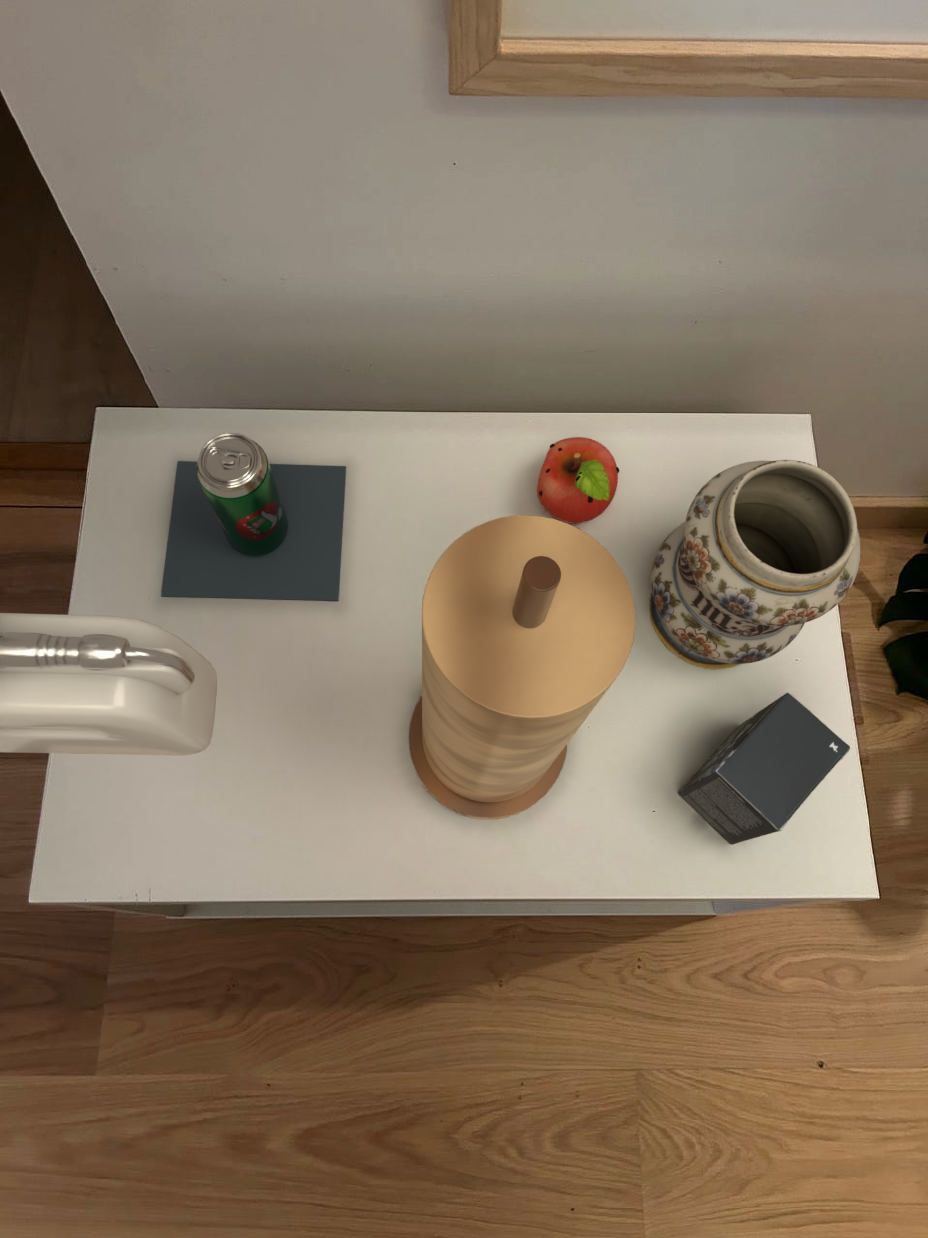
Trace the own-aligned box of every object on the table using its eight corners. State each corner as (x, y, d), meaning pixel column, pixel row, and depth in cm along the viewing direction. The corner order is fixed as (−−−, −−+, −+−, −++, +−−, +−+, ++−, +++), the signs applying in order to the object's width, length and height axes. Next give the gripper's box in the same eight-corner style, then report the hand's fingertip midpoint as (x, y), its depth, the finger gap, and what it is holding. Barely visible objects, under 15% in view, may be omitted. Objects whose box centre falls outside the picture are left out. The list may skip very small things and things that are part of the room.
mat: (161, 596, 75) (161, 595, 75) (178, 461, 79) (177, 460, 78) (338, 601, 75) (338, 600, 75) (346, 467, 79) (345, 465, 79)
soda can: (230, 500, 77) (197, 425, 66) (291, 503, 78) (269, 429, 66) (222, 557, 76) (187, 490, 64) (285, 560, 76) (262, 494, 65)
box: (739, 722, 73) (789, 689, 63) (795, 774, 72) (855, 748, 62) (673, 793, 71) (714, 770, 61) (730, 848, 70) (781, 833, 60)
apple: (511, 494, 79) (523, 434, 69) (573, 451, 80) (593, 387, 71) (569, 562, 77) (589, 510, 68) (632, 517, 79) (660, 460, 69)
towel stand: (406, 818, 70) (392, 711, 37) (411, 663, 74) (402, 440, 41) (566, 820, 70) (695, 718, 37) (563, 666, 74) (676, 449, 41)
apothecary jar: (802, 667, 75) (914, 587, 58) (658, 695, 74) (729, 623, 57) (756, 530, 79) (849, 418, 62) (618, 556, 77) (674, 448, 60)
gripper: (181, 554, 30) (254, 670, 43) (-480, 536, 29) (-202, 659, 42) (158, 750, 28) (242, 809, 41) (-552, 736, 27) (-237, 800, 40)
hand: (13, 733), depth 42 cm, fingers open, 8 cm apart
